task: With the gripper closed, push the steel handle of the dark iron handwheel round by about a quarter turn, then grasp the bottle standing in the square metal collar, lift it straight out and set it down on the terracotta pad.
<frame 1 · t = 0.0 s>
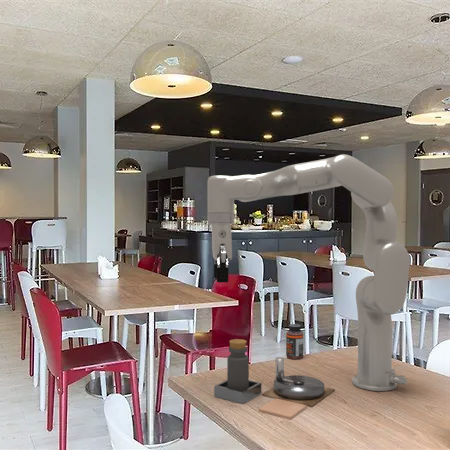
hand: (220, 279, 143), 31 cm above the table, tool pointing down, fingers open, 9 cm apart
supplement bottle: (294, 357, 176), on the table
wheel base: (298, 393, 140), on the table
handwheel: (298, 376, 140), point 5 cm above the table, hinge at 0.0°
pad: (282, 409, 129), on the table
bottle: (238, 395, 139), resting in collar
collar: (238, 395, 139), on the table
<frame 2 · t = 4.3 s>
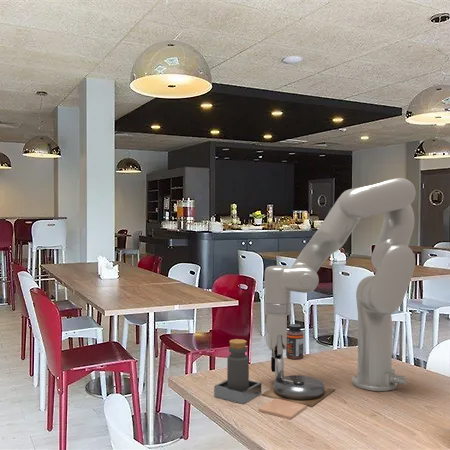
hand: (276, 370, 148), 4 cm above the table, tool pointing down, fingers closed
handwheel: (298, 376, 140), point 5 cm above the table, hinge at 2.1°, touching gripper
everything else where it was.
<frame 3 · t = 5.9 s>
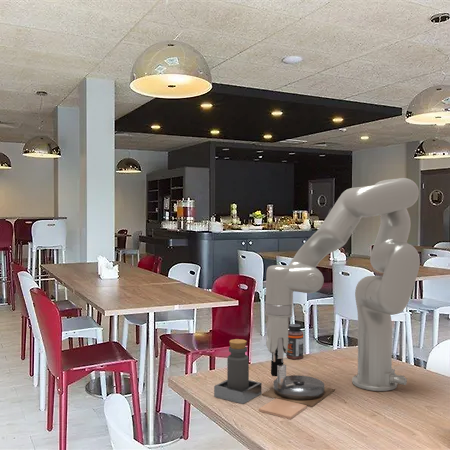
hand: (276, 375, 141), 5 cm above the table, tool pointing down, fingers closed
handwheel: (298, 376, 140), point 5 cm above the table, hinge at 66.9°, touching gripper
everything else where it was.
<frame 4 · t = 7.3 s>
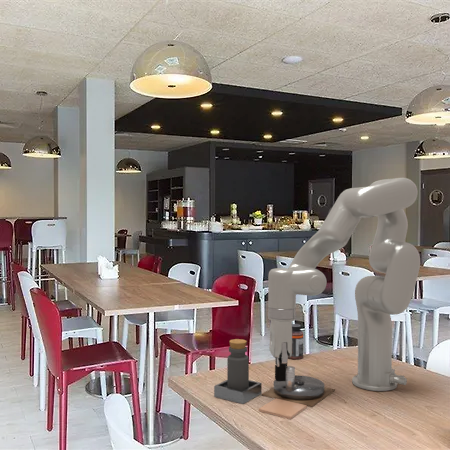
hand: (281, 380, 138), 4 cm above the table, tool pointing down, fingers closed
handwheel: (298, 376, 140), point 5 cm above the table, hinge at 93.9°, touching gripper
everything else where it was.
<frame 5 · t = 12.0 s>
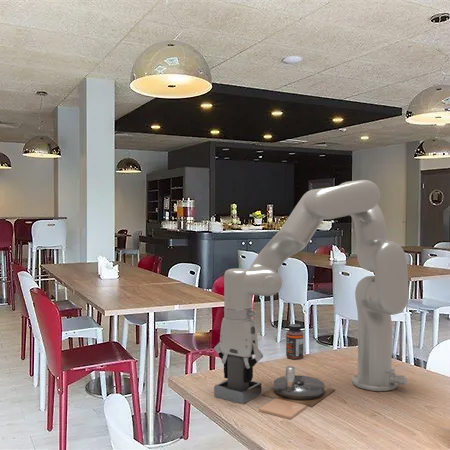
hand: (238, 378, 139), 5 cm above the table, tool pointing down, fingers closed on bottle, 5 cm apart
handwheel: (298, 376, 140), point 5 cm above the table, hinge at 94.0°
bottle: (238, 395, 139), resting in collar, touching gripper
everything else where it was.
when the fingers open (7 cm above the table, at t = 17.8 s): bottle drops 1 cm, resting on pad.
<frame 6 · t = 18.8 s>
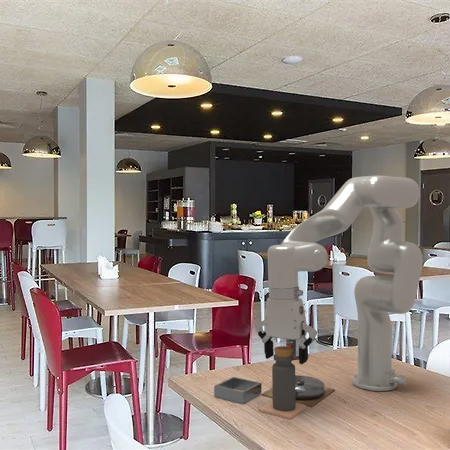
hand: (286, 359, 129), 13 cm above the table, tool pointing down, fingers open, 9 cm apart
bottle: (284, 407, 129), resting on pad
everything else where it was.
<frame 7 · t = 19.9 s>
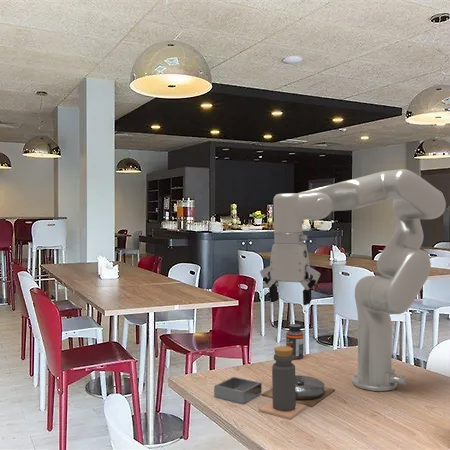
hand: (290, 302, 136), 26 cm above the table, tool pointing down, fingers open, 9 cm apart
nothing on the table moved.
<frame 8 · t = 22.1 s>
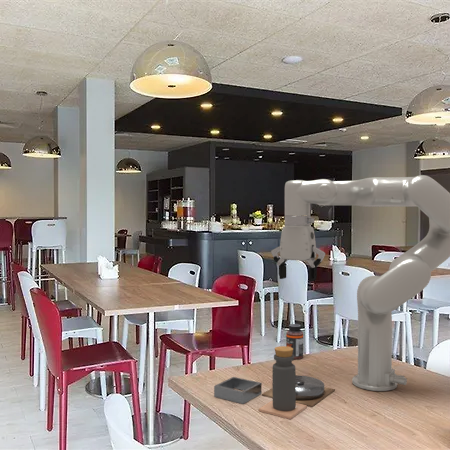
hand: (297, 279, 150), 30 cm above the table, tool pointing down, fingers open, 9 cm apart
nothing on the table moved.
at the end: handwheel at +94° (first picture: +0°); bottle inside the target area on the pad (0.3 cm from its centre), point 0.4 cm above the pad's base; bottle tilted 0° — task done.
